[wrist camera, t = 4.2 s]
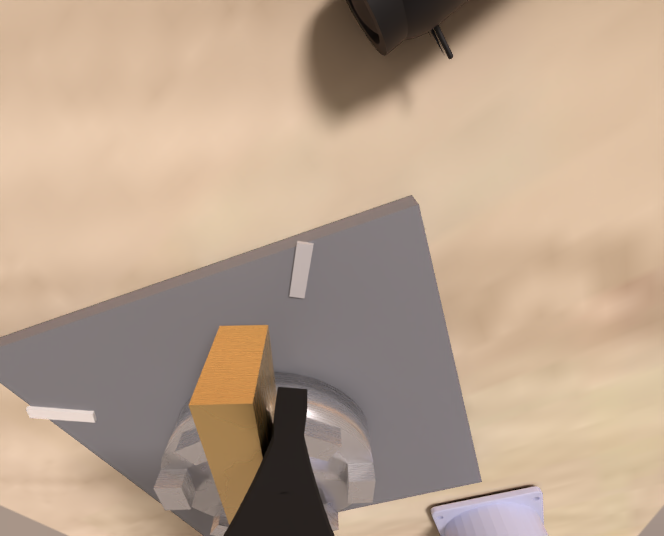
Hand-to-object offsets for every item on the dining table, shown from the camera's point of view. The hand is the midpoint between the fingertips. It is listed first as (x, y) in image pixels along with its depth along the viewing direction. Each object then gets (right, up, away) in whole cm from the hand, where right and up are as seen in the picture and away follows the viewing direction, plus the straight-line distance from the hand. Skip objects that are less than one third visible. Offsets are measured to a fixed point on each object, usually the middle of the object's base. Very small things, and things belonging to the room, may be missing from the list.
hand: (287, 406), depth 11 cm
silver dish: (-1, -2, +5) cm, 6 cm away
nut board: (-2, -4, +7) cm, 8 cm away
